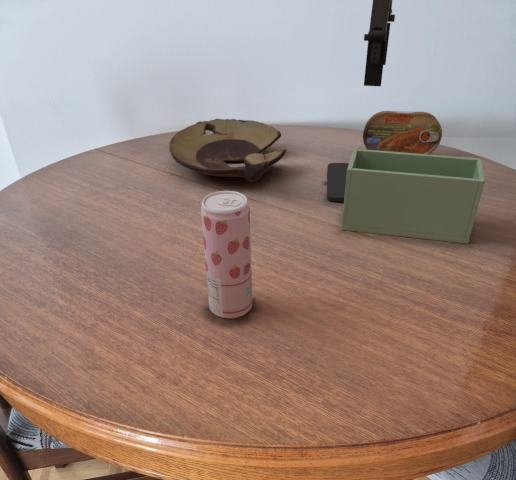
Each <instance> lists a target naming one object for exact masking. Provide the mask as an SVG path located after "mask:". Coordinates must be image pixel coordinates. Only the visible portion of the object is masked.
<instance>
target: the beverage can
mask: <svg viewBox="0 0 516 480" xmlns="http://www.w3.org/2000/svg"><path fill="white" fill-rule="evenodd" d="M200 215H201V217H200V218H201V229H202V239H203V242H202V243H203V250H204V263H205V275H206V276H205V277H206V288H207V299H208V308H209V310H210V311H211V313H212V314H214V315H216V316H217V317H219V318H223V319H237V318H240V317H243V316H245V315H246V314H247V313H248V312H250V310H251V309H252V307H253V278H252V277H253V276H252V275H253V274H252V246H251V245H252V244H251V243H252V241H251V211H250V204H249V199H248V198H247V197H246V195H245V194H243V193H241V192H238V191H234V190H219V191H215V192H214V191H213V192H211V193H209V194H207V195H205V196H204V197H203V198H202V200H201V207H200Z"/></svg>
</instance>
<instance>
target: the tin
mask: <svg viewBox="0 0 516 480" xmlns="http://www.w3.org/2000/svg"><path fill="white" fill-rule="evenodd" d="M442 136H443V130H442V125H441V123H440V122H439V120H438V119H437V118H436V116H434V115H433V114H432V113H430V112H428V111H427V112H426V111H407V110H405V111H404V110H403V111H401V110H382V111H379V112H376V113H374V114H373V115H372V116H370V117H369V119H368V120H367V122H366V123H365V125H364V128H363V132H362V142H363V145H364V147H365V149H366V150H378V151H390V152H403V153H415V154H428V155H432V153H433V152H434V151H435V150H436V149H437V148H438V147H439V146H440V143H441V141H442Z"/></svg>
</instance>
